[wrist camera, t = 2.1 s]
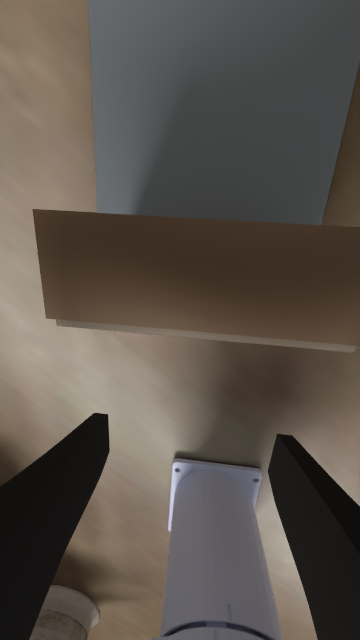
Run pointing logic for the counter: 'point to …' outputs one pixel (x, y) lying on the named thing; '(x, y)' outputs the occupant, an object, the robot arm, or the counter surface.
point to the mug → (65, 615)
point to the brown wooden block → (202, 278)
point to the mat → (221, 105)
